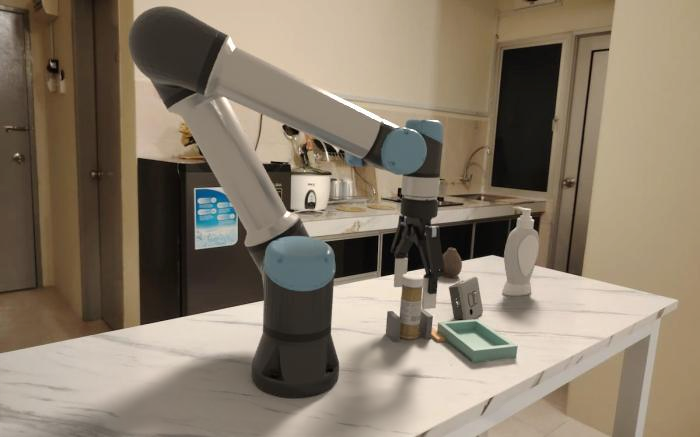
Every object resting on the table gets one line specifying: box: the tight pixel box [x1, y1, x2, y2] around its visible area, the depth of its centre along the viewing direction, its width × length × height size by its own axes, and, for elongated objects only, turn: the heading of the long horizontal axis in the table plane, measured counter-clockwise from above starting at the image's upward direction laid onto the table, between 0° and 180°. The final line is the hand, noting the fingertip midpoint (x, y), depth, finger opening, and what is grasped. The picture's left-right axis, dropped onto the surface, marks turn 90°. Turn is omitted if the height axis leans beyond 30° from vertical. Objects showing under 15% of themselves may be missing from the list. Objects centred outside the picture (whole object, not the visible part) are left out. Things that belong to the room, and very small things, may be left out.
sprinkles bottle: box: [399, 272, 424, 340], centre depth 101 cm, size 5×5×13 cm
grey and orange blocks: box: [385, 308, 447, 343], centre depth 102 cm, size 11×8×5 cm
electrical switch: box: [448, 276, 484, 320], centre depth 115 cm, size 9×5×9 cm, turn 141°
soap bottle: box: [501, 206, 540, 297], centre depth 135 cm, size 13×8×24 cm, turn 117°
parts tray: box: [436, 318, 518, 364], centre depth 99 cm, size 10×14×2 cm
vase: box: [442, 247, 463, 278], centre depth 148 cm, size 7×7×9 cm
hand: (413, 296), depth 101 cm, fingers open, 13 cm apart
